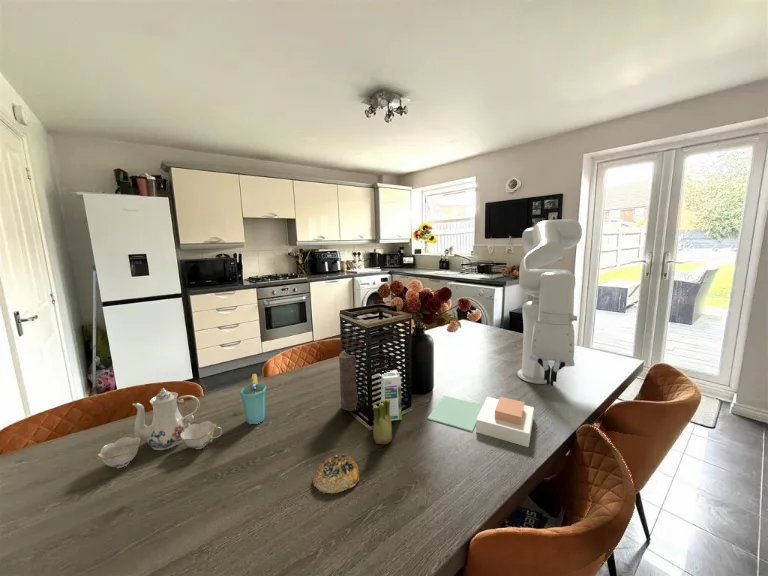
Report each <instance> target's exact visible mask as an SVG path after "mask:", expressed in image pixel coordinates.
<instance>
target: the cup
mask: <svg viewBox="0 0 768 576" xmlns="http://www.w3.org/2000/svg"><path fill="white" fill-rule="evenodd" d="M250 381H251V384H250V385H247V386H244V387H243V388H242V389H241V390H240V391H239V395H240V397H241V400H242V405H243V409H244V414H245V420H246V423H247V424H248V423H249V424H257V425H259V424H261V423H260V422H262V421H263V420H264V421H265V419H266V390H267V386H266V385H264V384H263V383H258V375H257V373H252V376H251V380H250ZM264 418H265V419H264ZM264 421H263V422H264ZM263 422H262V423H263ZM258 423H259V424H258ZM249 424H248V425H249Z"/></svg>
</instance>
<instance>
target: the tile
mask: <svg viewBox="0 0 768 576" xmlns="http://www.w3.org/2000/svg"><path fill="white" fill-rule="evenodd" d="M498 399H499V401H498V404H497V406H496V409H495V418H494V419H498V420H502V421H506V422H510V423H514V424H518V425H521V421H522V417H523V412H524V405H525V402H524V401H522V400H521V401H520V400H516V399H511V398H506V397H503V396H499V398H498Z"/></svg>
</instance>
